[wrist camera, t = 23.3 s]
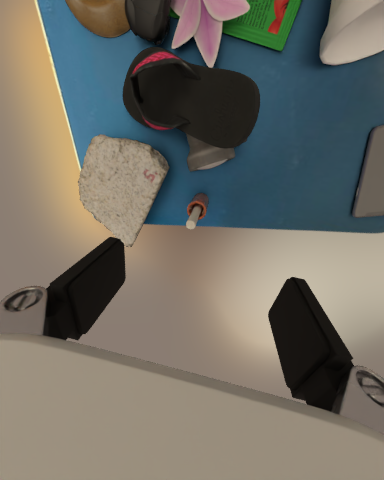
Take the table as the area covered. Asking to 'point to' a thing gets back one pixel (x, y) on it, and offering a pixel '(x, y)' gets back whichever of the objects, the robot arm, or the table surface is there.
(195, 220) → the stylus
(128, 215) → the rock
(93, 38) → the table surface
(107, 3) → the plant saucer
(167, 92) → the sandal
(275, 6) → the tomato puree packet
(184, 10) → the lily
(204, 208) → the pen cup
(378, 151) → the smartphone
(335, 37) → the cup
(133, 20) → the toy car
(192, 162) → the pipe fitting
